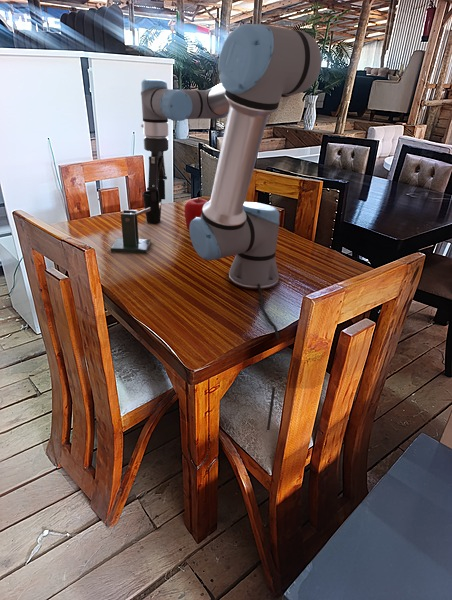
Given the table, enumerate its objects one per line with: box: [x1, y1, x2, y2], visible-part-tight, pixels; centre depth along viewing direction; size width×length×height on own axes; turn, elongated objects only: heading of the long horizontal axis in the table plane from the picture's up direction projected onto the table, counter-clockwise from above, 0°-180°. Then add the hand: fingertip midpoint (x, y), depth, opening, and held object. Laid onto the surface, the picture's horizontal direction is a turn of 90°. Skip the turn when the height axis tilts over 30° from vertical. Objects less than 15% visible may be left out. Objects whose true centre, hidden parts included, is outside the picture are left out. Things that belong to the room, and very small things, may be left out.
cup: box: [142, 190, 163, 225], centre depth 163 cm, size 8×8×12 cm
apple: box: [183, 197, 209, 231], centre depth 154 cm, size 10×10×14 cm
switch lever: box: [128, 201, 163, 217], centre depth 134 cm, size 13×6×2 cm, turn 90°
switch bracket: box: [110, 209, 152, 255], centre depth 137 cm, size 12×10×13 cm
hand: (158, 204), depth 133 cm, fingers open, 13 cm apart
